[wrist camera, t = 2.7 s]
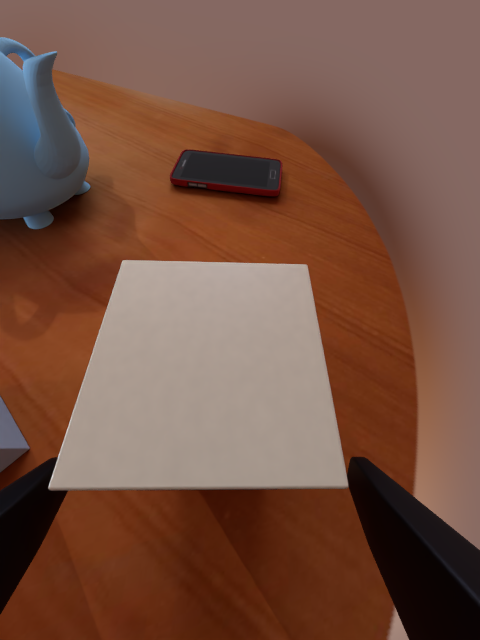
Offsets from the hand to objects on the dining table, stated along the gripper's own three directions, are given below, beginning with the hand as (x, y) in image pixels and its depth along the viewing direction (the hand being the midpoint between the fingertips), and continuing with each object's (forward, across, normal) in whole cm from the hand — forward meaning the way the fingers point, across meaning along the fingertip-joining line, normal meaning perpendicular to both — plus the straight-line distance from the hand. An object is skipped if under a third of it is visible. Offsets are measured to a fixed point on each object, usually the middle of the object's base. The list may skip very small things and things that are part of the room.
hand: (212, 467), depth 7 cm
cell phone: (+31, 0, -17) cm, 35 cm away
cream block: (+9, 0, +5) cm, 10 cm away
